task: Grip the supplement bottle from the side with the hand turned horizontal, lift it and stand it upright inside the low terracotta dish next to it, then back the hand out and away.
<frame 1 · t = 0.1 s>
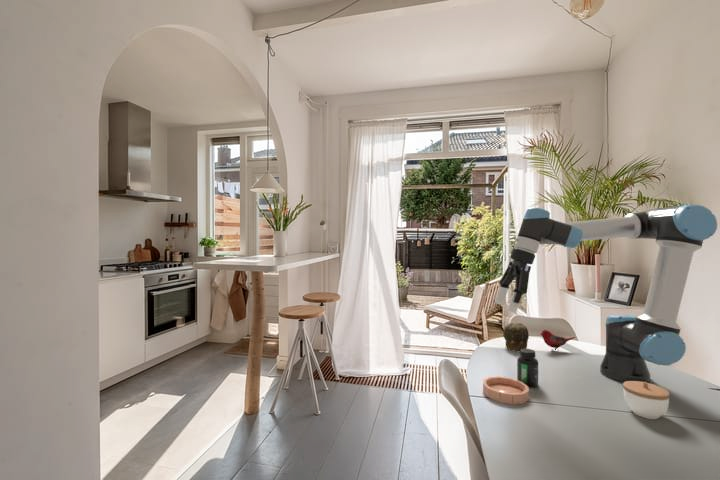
hand: (504, 307, 121), 28 cm above the table, tool tilted 20°, fingers open, 13 cm apart
terracotta dish: (505, 393, 115), on the table
supplement bottle: (527, 384, 123), on the table
decorative bird figurine: (557, 351, 160), on the table
lidded jar: (645, 414, 102), on the table
brown rounded lump: (515, 349, 163), on the table
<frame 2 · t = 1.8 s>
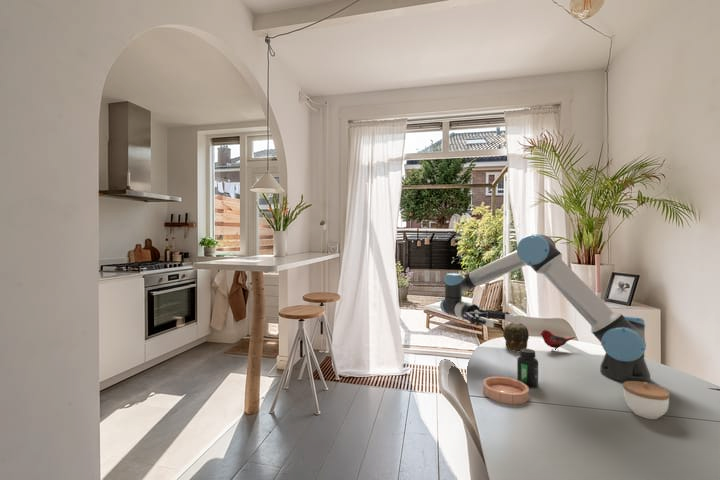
hand: (506, 322, 132), 20 cm above the table, tool horizontal, fingers open, 13 cm apart
nothing on the table moved.
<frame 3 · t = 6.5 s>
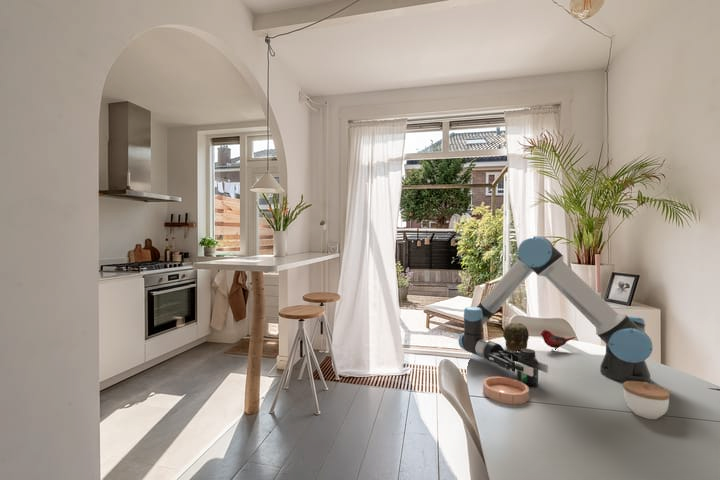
hand: (540, 370, 119), 7 cm above the table, tool horizontal, fingers closed on supplement bottle, 7 cm apart
supplement bottle: (527, 384, 123), on the table, touching gripper
everything else where it was.
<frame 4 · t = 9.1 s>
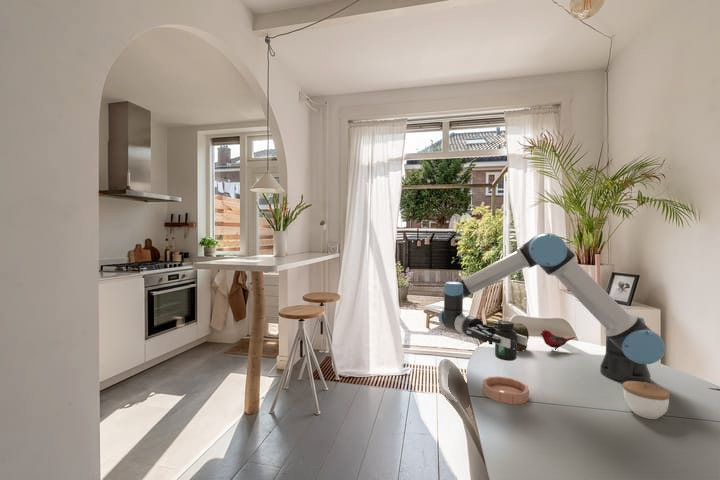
hand: (518, 342, 112), 18 cm above the table, tool horizontal, fingers closed on supplement bottle, 7 cm apart
supplement bottle: (505, 358, 116), point 12 cm above the table, touching gripper
everything else where it was.
when the fingers open (9 cm above the table, at t = 12.2 s): supplement bottle drops 1 cm, resting on terracotta dish.
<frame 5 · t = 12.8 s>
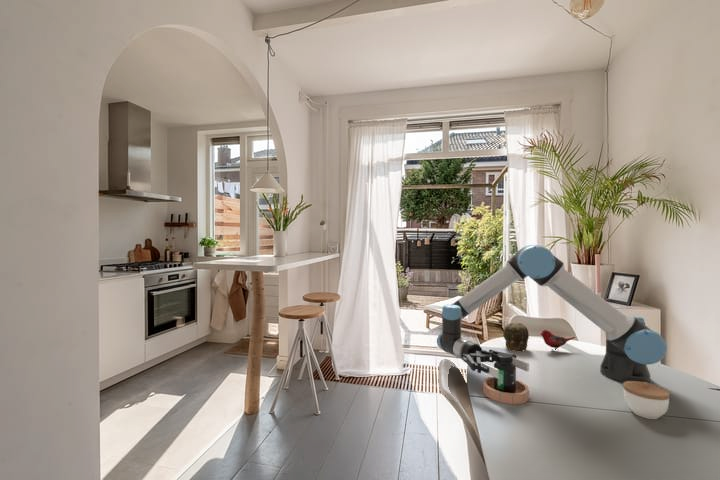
hand: (513, 370, 112), 9 cm above the table, tool horizontal, fingers open, 13 cm apart
supplement bottle: (504, 391, 115), point 1 cm above the table, touching terracotta dish
everything else where it was.
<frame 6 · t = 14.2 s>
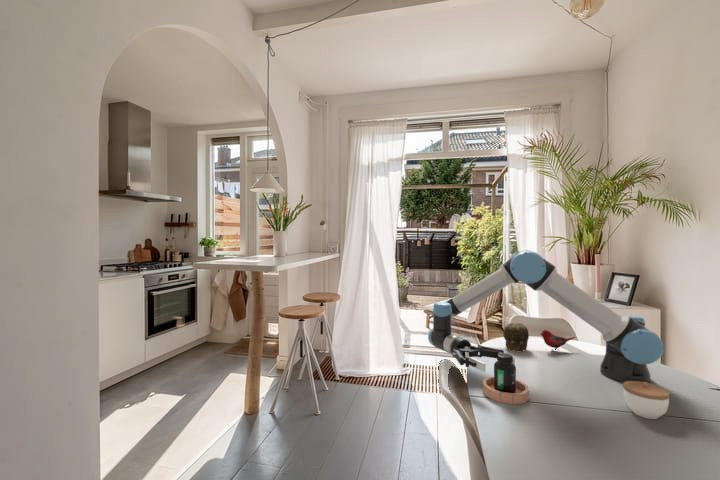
hand: (499, 364, 117), 9 cm above the table, tool horizontal, fingers open, 13 cm apart
nothing on the table moved.
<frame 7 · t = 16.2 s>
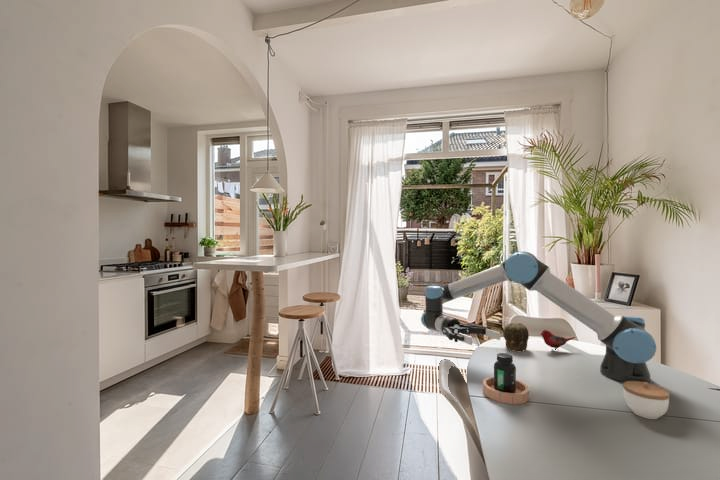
hand: (485, 338, 126), 15 cm above the table, tool horizontal, fingers open, 13 cm apart
nothing on the table moved.
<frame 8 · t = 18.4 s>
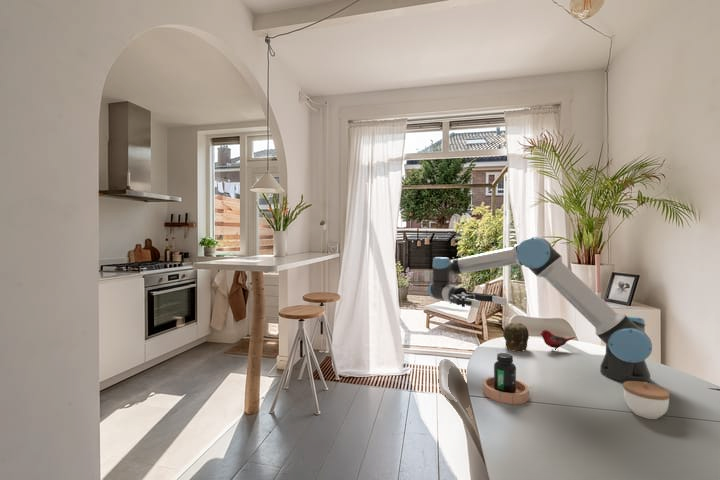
hand: (492, 303, 128), 28 cm above the table, tool horizontal, fingers open, 13 cm apart
nothing on the table moved.
at the end: supplement bottle inside the target area on the terracotta dish (0.1 cm from its centre), point 0.8 cm above the terracotta dish's base; supplement bottle tilted 0°; the gripper is holding nothing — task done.
